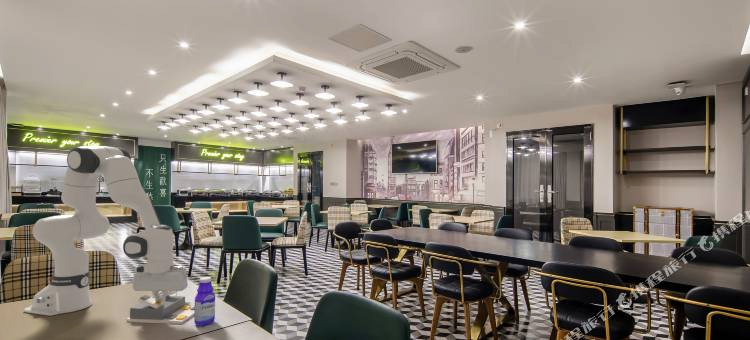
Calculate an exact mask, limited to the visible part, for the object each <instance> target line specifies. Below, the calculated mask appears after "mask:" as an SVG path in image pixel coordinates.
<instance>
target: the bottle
mask: <svg viewBox="0 0 750 340" xmlns="http://www.w3.org/2000/svg"><path fill="white" fill-rule="evenodd" d="M198 283H199V284H198V287H197V288H196V291H197V293H196V295H195V297H194V306H195V312H194V316H193V317H194V320H193V321H194V324H195V325H196V326H198V327H204V326H206V325H209V324H212V323H214V321H215V318H216V294H215V293H214V287H213V285H212V277H211V276H202V277H200V278H199V282H198Z"/></svg>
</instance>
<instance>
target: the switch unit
mask: <svg viewBox="0 0 750 340" xmlns="http://www.w3.org/2000/svg"><path fill="white" fill-rule="evenodd" d="M151 297H152V298H154V295H152V296H151ZM154 299H155V298H154ZM194 312H195V305H186V296H185V295H184V296H178V295H177V296H176V295H168V296H166V298H165V302H164V305H163V306H161V307H159V308H157V309H156V308H154V307H151V306H148V305H145V304H143V303H140V302H138V303H137V304H136V305H134V306H132V307H130V308H129V317H127V318H126V321H125V322H129V323H153V324H170V325H171V324H174V325H175V324H176V325H183V324H184V323H186V322H187V321H189V319H191V318H192V317H194Z"/></svg>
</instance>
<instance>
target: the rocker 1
mask: <svg viewBox="0 0 750 340" xmlns="http://www.w3.org/2000/svg"><path fill="white" fill-rule="evenodd" d="M152 297H153V296H149V295H143V296H140V297H139V299H138V302H137V303H143V304H145V305H148V306H151V307H154V308H156V309H157V308H159V307H161V306H163V305H164V302H155V299H154V298H152Z"/></svg>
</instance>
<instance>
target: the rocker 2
mask: <svg viewBox="0 0 750 340" xmlns="http://www.w3.org/2000/svg"><path fill="white" fill-rule="evenodd" d="M176 292H177V293H178V292H179V291H168V294H167V295H166V296H168V295H170V296H173V295H174V294H176ZM158 294H159V296H160V297H162V295H163V294H162V291H159V292H158ZM154 298H155V297H154Z"/></svg>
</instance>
